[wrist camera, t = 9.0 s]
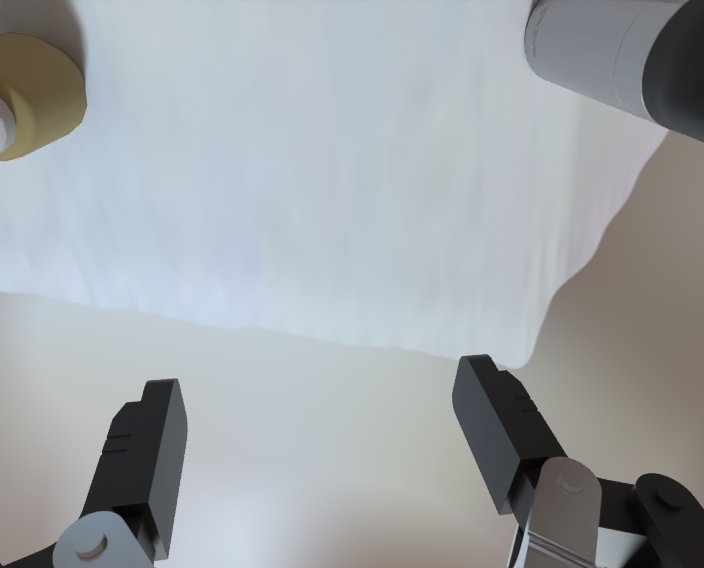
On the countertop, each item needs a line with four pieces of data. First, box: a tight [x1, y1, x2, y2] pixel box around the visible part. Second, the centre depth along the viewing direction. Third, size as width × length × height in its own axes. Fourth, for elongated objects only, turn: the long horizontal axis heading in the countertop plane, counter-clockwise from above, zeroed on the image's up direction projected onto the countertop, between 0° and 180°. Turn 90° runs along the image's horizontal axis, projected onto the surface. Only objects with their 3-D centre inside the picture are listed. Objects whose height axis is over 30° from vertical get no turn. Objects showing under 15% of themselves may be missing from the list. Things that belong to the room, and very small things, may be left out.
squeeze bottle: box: [0, 32, 87, 161], centre depth 34 cm, size 8×8×18 cm
